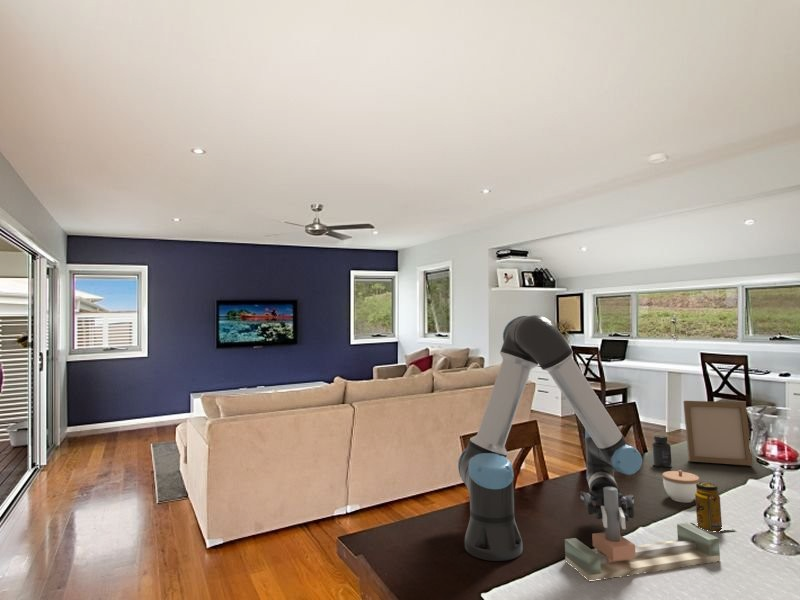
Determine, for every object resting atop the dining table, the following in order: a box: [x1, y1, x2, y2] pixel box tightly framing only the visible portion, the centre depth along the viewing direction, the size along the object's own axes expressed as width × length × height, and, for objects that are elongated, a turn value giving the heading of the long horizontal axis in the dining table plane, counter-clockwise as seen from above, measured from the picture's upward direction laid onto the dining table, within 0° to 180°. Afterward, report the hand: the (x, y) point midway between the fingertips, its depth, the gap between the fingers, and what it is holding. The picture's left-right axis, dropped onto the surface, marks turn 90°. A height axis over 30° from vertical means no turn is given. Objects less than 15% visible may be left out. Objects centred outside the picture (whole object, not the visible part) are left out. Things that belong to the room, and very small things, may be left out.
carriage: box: [591, 487, 636, 562], centre depth 120 cm, size 6×8×16 cm
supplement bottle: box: [651, 434, 673, 469], centre depth 200 cm, size 7×7×12 cm
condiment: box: [695, 481, 737, 534], centre depth 140 cm, size 7×8×12 cm
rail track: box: [564, 522, 721, 581], centre depth 121 cm, size 36×10×6 cm, turn 103°
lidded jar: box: [661, 469, 700, 504], centre depth 162 cm, size 11×11×9 cm
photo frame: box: [683, 400, 754, 467], centre depth 206 cm, size 15×22×25 cm
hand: (614, 522), depth 114 cm, fingers closed on carriage, 3 cm apart
